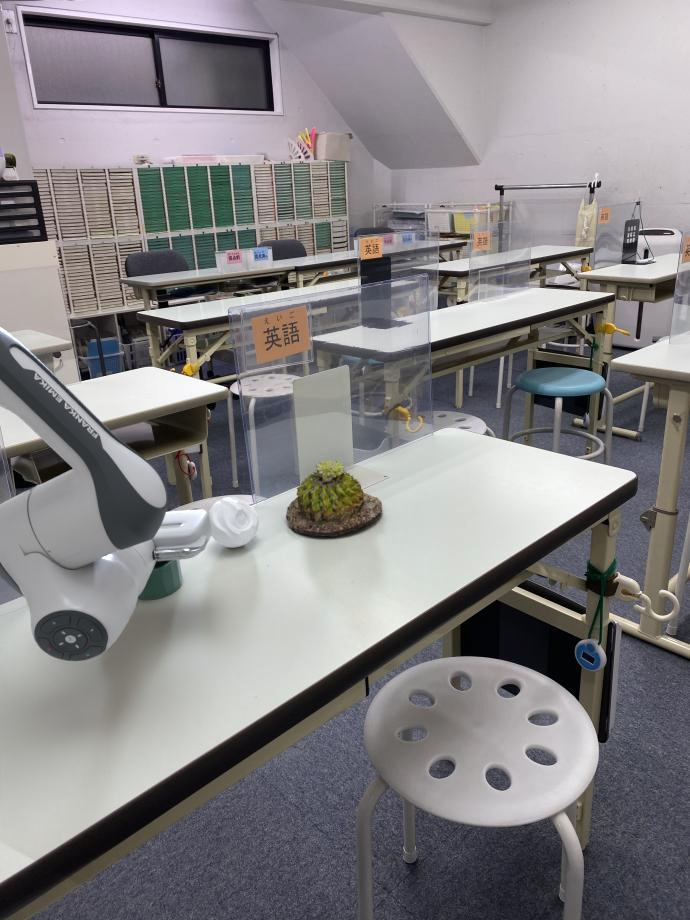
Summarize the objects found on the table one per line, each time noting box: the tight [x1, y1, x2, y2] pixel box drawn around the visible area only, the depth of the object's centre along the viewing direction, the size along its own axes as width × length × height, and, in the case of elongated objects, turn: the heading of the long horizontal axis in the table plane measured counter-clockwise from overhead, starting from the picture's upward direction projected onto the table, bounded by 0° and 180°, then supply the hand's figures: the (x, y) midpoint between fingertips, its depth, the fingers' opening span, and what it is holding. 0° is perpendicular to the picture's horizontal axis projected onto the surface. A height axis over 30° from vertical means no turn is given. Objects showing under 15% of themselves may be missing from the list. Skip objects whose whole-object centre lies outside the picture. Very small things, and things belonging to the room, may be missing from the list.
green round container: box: [138, 560, 183, 601], centre depth 98 cm, size 7×7×4 cm
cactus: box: [285, 459, 383, 537], centre depth 114 cm, size 17×16×10 cm
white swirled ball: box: [208, 496, 259, 549], centre depth 107 cm, size 8×8×8 cm
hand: (144, 509), depth 95 cm, fingers closed on chess piece, 2 cm apart
